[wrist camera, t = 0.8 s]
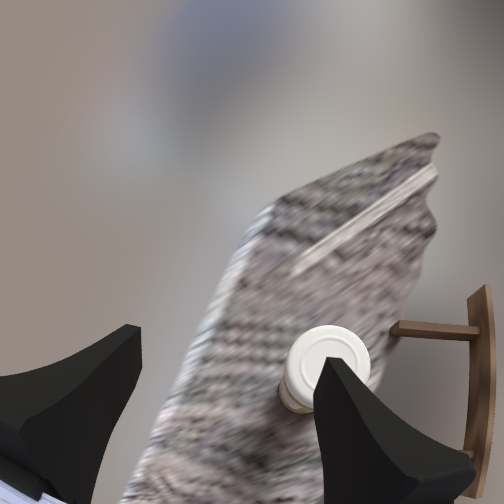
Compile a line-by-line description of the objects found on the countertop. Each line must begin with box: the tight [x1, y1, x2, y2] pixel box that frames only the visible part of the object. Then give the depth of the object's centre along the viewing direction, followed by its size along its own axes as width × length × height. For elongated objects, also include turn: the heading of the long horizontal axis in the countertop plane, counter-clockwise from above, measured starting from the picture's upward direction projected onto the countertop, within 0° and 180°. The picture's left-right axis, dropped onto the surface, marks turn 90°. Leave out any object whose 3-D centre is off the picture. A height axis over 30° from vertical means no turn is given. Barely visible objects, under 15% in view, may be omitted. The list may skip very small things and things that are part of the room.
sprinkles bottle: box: [279, 325, 370, 413], centre depth 21 cm, size 5×5×13 cm
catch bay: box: [390, 284, 496, 499], centre depth 23 cm, size 22×11×4 cm, turn 169°
